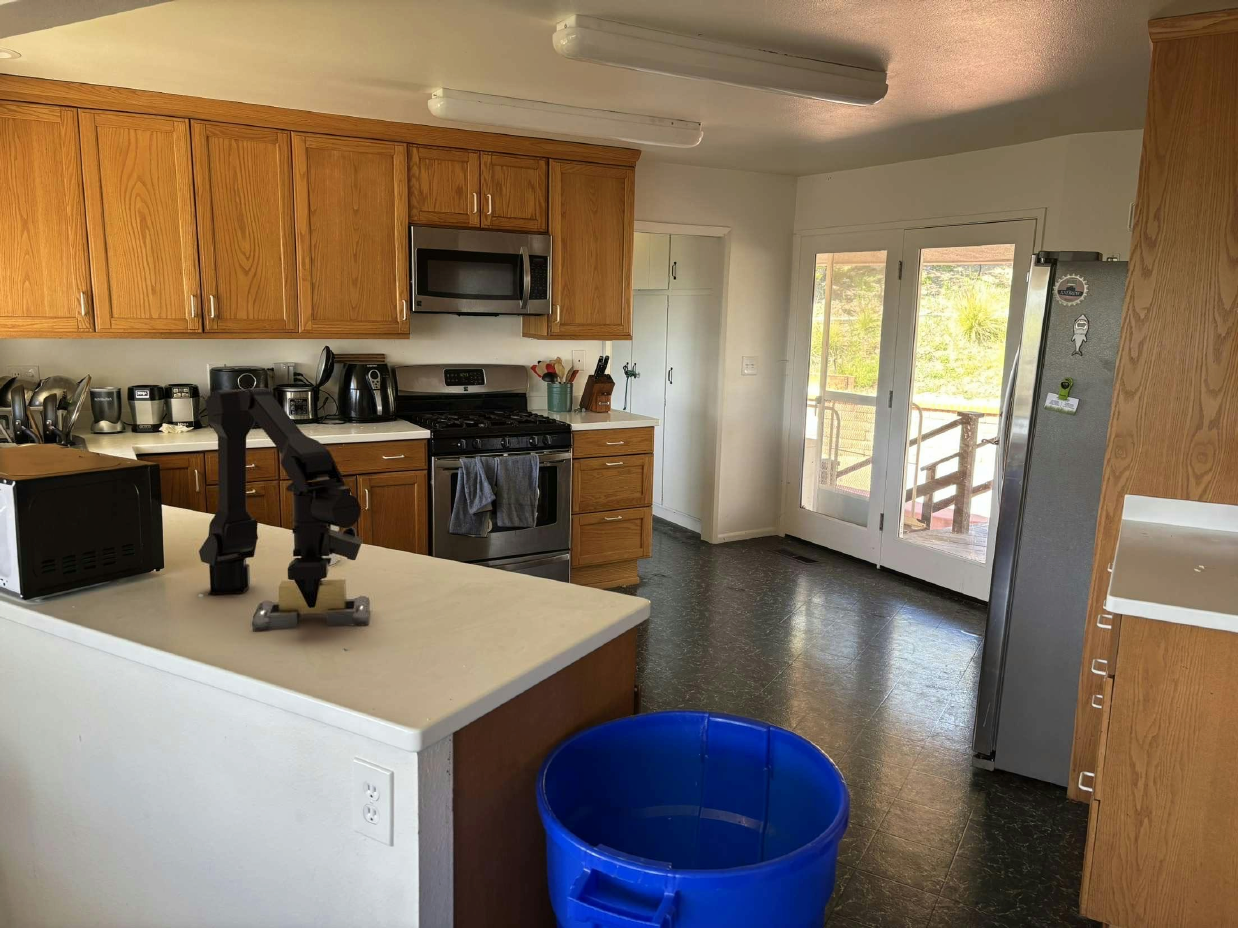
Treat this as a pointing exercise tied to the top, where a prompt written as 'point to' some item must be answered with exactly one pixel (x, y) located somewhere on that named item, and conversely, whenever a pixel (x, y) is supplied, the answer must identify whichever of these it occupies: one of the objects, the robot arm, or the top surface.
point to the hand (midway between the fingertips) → (312, 603)
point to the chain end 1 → (273, 617)
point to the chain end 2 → (350, 613)
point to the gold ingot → (327, 597)
